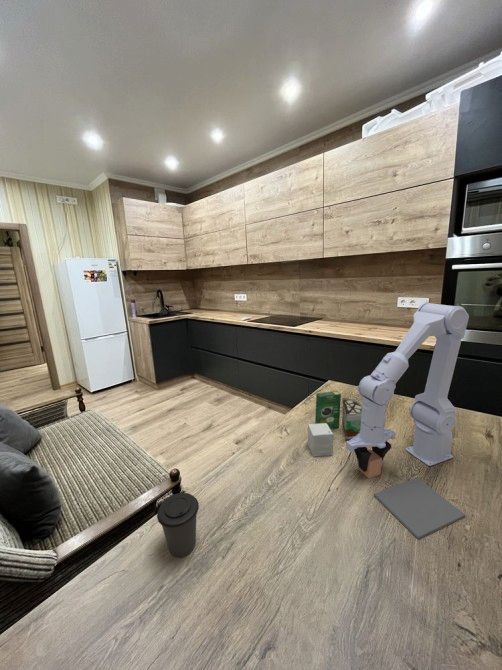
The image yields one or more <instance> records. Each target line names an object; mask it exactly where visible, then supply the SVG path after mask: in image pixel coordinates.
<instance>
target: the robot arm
mask: <svg viewBox="0 0 502 670" xmlns="http://www.w3.org/2000/svg"><path fill="white" fill-rule="evenodd" d="M412 316H413V323H412V325H411V326H410V328H409V329H408V331H407V333H406V334H405V336H404V337H403V339H402V340H401V342H400V343H399V345H398V347H397V348H396V349H395V350H394V351H393V352H388V353H386V354H385V355H384V356H383V358H382V359H381V361H380V362H379V363H378V365H377V366H376V367H375V369H374V370H373V371H372V372H371V374H370V375H366V376H364V377H363V378H362V379H360V382H359V385H357V388H356V389H357V392H358V394H359V395H360V401H361V404H362V409H361V427H360V433H359V434H358V435H356V436H355V437H354V438H352V439H351V440H349V441H346V443H345V444H346V445H345V448H346V449H347V450H348V451H349V452H350V453H353V452H354V453H355V456H356V459H357V464H359V468H360V469H361V470H362V471H364V472H366V471H367V467H368V461H369V458H370V456H371V455H372V453H371V452H369V451H368V450H369V449H368V448H371V450H372V451H374V452H375V453H376V454H377V455H379V456H380V457H381V458H382V462H383V460H384V458H385V457H386V454H388V452H389V451H390V450H391V449H392V444H391V443H390V442H389V441H388V440H390V439H391V440H395V439H396V435H397V433H396V431H394V430H393V429H391V428H389V429H387V428H386V416H387V415H386V414H387V403H389V402H390V401H391V400H392V398H393V397H394V394H395V389H396V388H397V387H396V384H397V382H398V381H399V380H400V379H401V377H402V376H403V375H404V374H405V372H406V371H407V369H408V368H409V367H410V365H409V359H410V358H411V356H412V355H414V353H416V351H417V350H418V349H419V348H420V347H421V345H423V344H424V343H425V342H426V340H427V339H428V338H429V337H435V339H436V341H435V345H434V348H433V353H432V359H431V363H430V367H429V371H428V375H427V379H426V384H425V387H424V392H422V393H418V394H416V395H415V396H414V400H413V402H412V404H411V405H410V407H409V416H410V417H411V418H412V419H413V421H412V422H413V423H414V433H413V442H412V446H409V447H406V448H405V451H406V452H408V453H409V454H411V455H412V456H414V457H415V458H416V459H418V460H419V461H421V462H423V464H425V465H427V466H428V467H431V466H435V465H437V464H439V463H440V464H441V463H442V462H443V463H444V462H445V461H448V460H450V459H454V456H453V455H452V454H451V451H452V450H451V449H452V445H453V444H452V443H453V433H452V431H453V429H454V427H455V425H456V415H455V414H456V407H455V406H454V405H453V404H452V402H451V401H450V400H449V399H448V395H449V391H450V387H451V383H452V380H453V375H454V371H455V368H456V367H455V366H456V363H457V359H458V356H459V351H460V347H461V343H462V340H463V339H464V338H465V335H466V330H467V327H468V323H469V318H470V315H469V313H468V312H467V311H466V309H465V307H463V306H460V305H450V304H449V305H446V304H440V303H432V302H422V304H420V305H419V307H418V308H417V310H416V312H414V314H413V315H412ZM385 428H386V429H385Z"/></svg>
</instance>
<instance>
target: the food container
mask: <svg viewBox="0 0 502 670" xmlns="http://www.w3.org/2000/svg"><path fill="white" fill-rule="evenodd" d="M361 409H362V402H361V403H360V401H358V400H356V399H352V398H349V397H348V398H347V397H342V414H341V416H342V417H341V427H342V432H343V436H344V441H346V442H347V441H349V440H351V439H352V438H354V437H355V436H356V435H358V434H359V433H360V427H361Z"/></svg>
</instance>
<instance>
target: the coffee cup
mask: <svg viewBox="0 0 502 670" xmlns="http://www.w3.org/2000/svg"><path fill="white" fill-rule="evenodd" d="M199 509H200V505H199V501H198V499H197V498H196V497H195V496H194V495H193V494H190V493H188V492H179V493H175V494H172V495H170V496H169V497H167V498H166V499H164V500H163V502H162V503H161V504H160V506H159V508H158V509H157V513H156V518H157V521H158V523H159V524H160V525H161V527H162V530H163V533H164V537H165V541H166V544H167V547H168V551H169V553H170V555H171V556H172V557H174V558H179V559H181V558H184V557H185V558H186V557H187V556H188V555H190V554H191V553H193V550H194V549H195V546H196V543H197V542H196V541H197V538H196V537H197V514H198V511H199Z"/></svg>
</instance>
